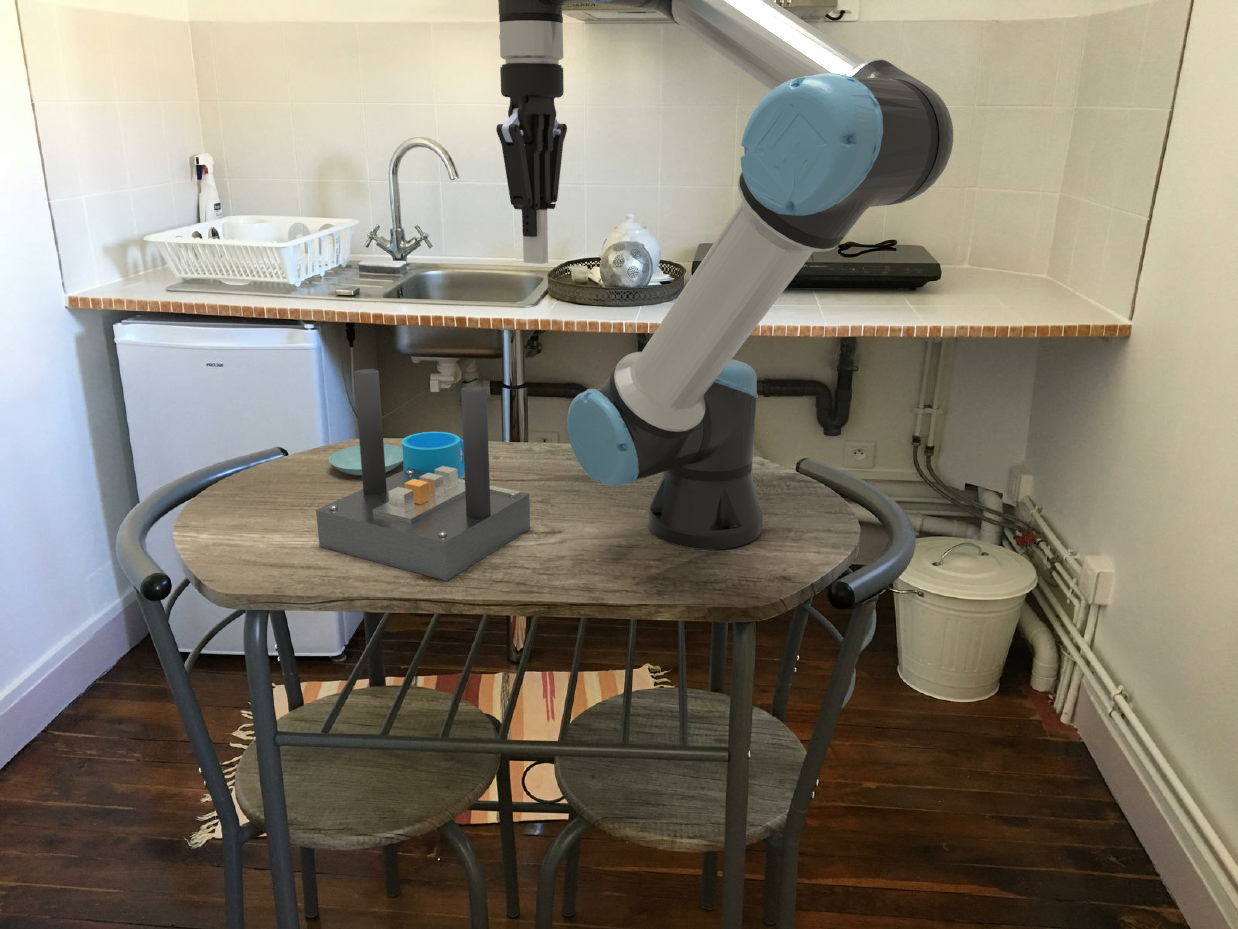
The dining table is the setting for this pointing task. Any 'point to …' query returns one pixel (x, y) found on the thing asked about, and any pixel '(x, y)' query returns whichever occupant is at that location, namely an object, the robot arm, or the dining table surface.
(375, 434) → the dark grey upright post
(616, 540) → the dining table surface
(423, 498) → the orange cube
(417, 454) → the mug
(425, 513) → the breaker panel
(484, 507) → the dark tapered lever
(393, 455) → the saucer
